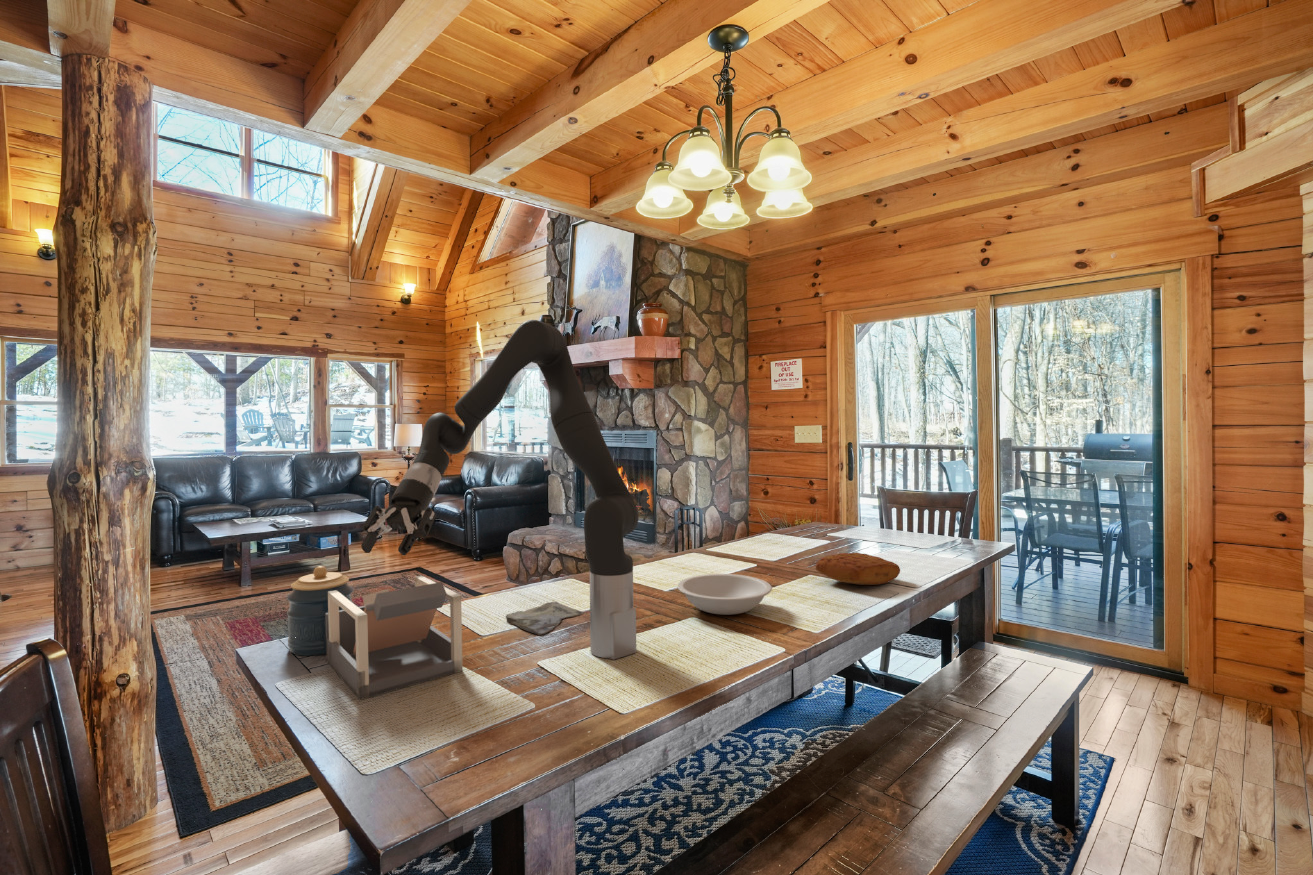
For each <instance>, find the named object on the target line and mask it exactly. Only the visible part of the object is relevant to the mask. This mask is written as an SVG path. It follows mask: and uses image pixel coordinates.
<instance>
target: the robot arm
mask: <svg viewBox="0 0 1313 875" xmlns="http://www.w3.org/2000/svg"><path fill="white" fill-rule="evenodd" d="M531 363H534V364H536V365H537V366H538V368H539V370H540V371H541V374H542V375H543V378H544V380H545V382H546V384H547V387H548V390H549V399H550V400H549V408H550V410H549V411H550V418H551V419H550V421H551V423H552V424H551V425H552V426H553V428H554V432H555V434H556V437H557V439H558V442H559V443H560V446H561V448H562V449H563V452H564V453H565V454H566V455H567V457H568V458H569V459H570V460H571V462H572V463H574V465H575V466H576V467H577V468H578V469H579V470H580V471H581V472H582V473H583V474H584V475H585V477H586V479H587V480H588V482H590V485H591V487H592V489H593V491H594V494H595V495H596V498H594V499H592V500H591V501H590V502H589V503H588V504H587V506H586V509H585V512H584V516H583V531H584V548H585V557H586V560H587V563H588V564H589V625H590V626H589V634H590V635H589V637H590V639H589V641H590V653H591V655H594V656H595V657H598V658H603V659H604V658H605V659H610V660H617V659H620V658H622V657H626V656H630V655H632V654H636V653H637V609H636V607H634V559H633V557H632V555H630V554H628V553H626V552H625V545H624V536H627V535H629V534H631V533H633V532H634V531H635V530H636V528H637V526H638V524H639V515H640V514H639V509H638V506H637V504H636V501H635V499H634V497H633V496H632V494H631V492H630V489H628V487H627V485H626V483H625V481H624V480H623V478H622V476H621V474H620V472H619V470H618V468H617V466H616V464H615V461H614V459H613V456H612V454H611V452H610V450H609V448H608V445H607V443H606V441H605V439H604V436H603V434H602V431H601V428H600V426H599V423H598V420H597V419H596V417H595V414H594V412H593V411H594V410H592V407H591V405H590V404H589V400H588V399H587V396H586V394H585V392H584V389H583V387H582V385H581V383H580V381H579V378H578V376H577V373H576V370H575V367H574V365H573V362H572V358H571V354H570V352H569V348H568V346H567V342H566V339H565V337H564V335H563V334H562V332H561V331H560V330H559V329H558V328H557V327H556V326H554V325H551V324H549V323H547V322H544V321H541V320H538V319H529V320H525V321H524V322H523V323H521V324H520V325H519V326H518V327H517V328H516V329H515V331H514V332H513V333H512V335H511V336H510V337H509V339H508V341H507V342H506V343H505V345H504V346H503V348H502V349H501V350H500V351H499V353H498V354H497V356H496V357H495V359H494V360H493V361H492V362H491V364H490V365H489V367H488V369H487V370H485V372H484V373H483V375H482V376H481V377H480V378H479V379H478V380H477V381H476V382H475V383H474V384H473V385H472V386H471V387H470V388H469V389H467V391H466V392H465V393H464V394H463V395H462V397H460V398H459V399H458V400H457V401H456V403H455V405H454V412H455V414H456V416H458V418H459V419H460V420H461V422H462V424H463V425H462V424H460V422H458V421H456V420H455V419H454V418H452V417H451V416H449V415H448V414H447V413H444V412H436V413H434V414H432V415H430V417H428V419H427V420H426V422H425V424H424V426H423V430H422V437H421V441H420V444H419V449H418V450H419V451H418V452H417V455H416V456H415V458H414V460H413V461H412V463H411V465H410V466H409V468H408V469H407V470H406V472H405V473H404V475H403V477H402V478H401V479H400V480H401V481H400V482H399V484H398V486H397V487H396V490H395V491H394V493H393V494H392V496H391V502H390V505H389V506H388V507H387V508H381V506H380V505H375V506H374V508H373V509H372V510H371V512H370V513H369V515H368V516H367V518H366V519H365V521H364V523H363V524H362V526H361V529H362V530H363V531H364V533H365V534H366V536H365V537H364V539H363V541H362V543H361V546H360V547H361V549H362V551H363V552H364V553H365V554H370V553H371V552H372V550H373V548H374V546H375V544H376V543H377V541H378V538H379V537H380V536H382V535H383V534H385V533H386V534H387V533H389V532H391V531H392V530H402V531H404V530H405V531H407V534H406V533H405V535H404V537H403V539H401V540H402V541H401V543H400V545H399V546H398V550H397V551H398V552H399V554H400V555H401V556H407V554H408V553H410V551H411V550H412V548H413V545H414V544H415V542H416V541H417V540H419V539H420V538H422V539H426V538H427V537H428V536H429V533H430V530H431V528H432V526H433V523H434V521H435V519H436V517H437V515H436V513H435V512H434V511H433V509H432V508H431V507H429V506H430V504H431V502H432V501H433V498H434V496H435V494H436V493H437V490H438V488H439V486H440V484H441V480H442V478H443V477H444V474H445V472H446V471H447V468H448V466H449V465H450V457H449V455H448V454H450V455H457V454H460V453H462V452H463V451H464V450H465V449H466V448H467V446H468V445H469V442H470V441H471V438H472V436H473V434H474V433H475V431H476V429H477V428H478V427H479V425H480V424H481V423H482V422H483V421H484V420H485V419H486V418H487V417H488V416H489V415H490V414H491V412H493V411H494V410H495V409H496V408H497V407H498V405H499V404H500V403H501V401H502V400H503V398H504V396H505V393H506V392H507V389H508V388H509V386H510V384H511V382H512V380H513V379H514V377H516V376H517V374H518V373H519V372H521V370H523V369H524V368H526V366H528V365H529V364H531ZM385 522H386V524H387V525H385ZM418 522H419V523H418ZM417 523H418V526H417Z"/></svg>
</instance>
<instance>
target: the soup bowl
mask: <svg viewBox="0 0 1313 875" xmlns="http://www.w3.org/2000/svg"><path fill="white" fill-rule="evenodd" d="M677 589H678V591H679V592H681V593H682V594H684V596H685V597H686V598H687V600H688V602H689V603H690V604H692V605H693V606H694V607H696V608H697V609H699V610H701V611H703V612H705V613H710V614H714V615H724V616H725V615H728V616H729V615H731V616H732V615H738V614H739V615H740V614H743V613H746V612H749V611H751V610H753V609H754V608H755V607H757V606H758V605H759V604H761V602H762V601H763V600H764V598H765V596H768V595H769V594H770V593H771V592H772V590H773V588H772V585H771V584H770V583H769V582H768V581H766V580H763V579H761V578H757V577H754V576H748V575H744V574H743V575H742V574H736V573H735V574H733V573H711V574H710V573H709V574H700V575H695V576H690V577H687V578H684V579H682V580H680V581H679V582H678V583H677Z"/></svg>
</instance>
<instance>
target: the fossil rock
mask: <svg viewBox="0 0 1313 875" xmlns="http://www.w3.org/2000/svg"><path fill="white" fill-rule="evenodd" d="M581 615H584V612H583V611H581V610H579V609H576V608H572V607H569V606H567V605H564V604H562V603H559V602H558V601H551V602H550V601H549V602H546V603H543V604H541V605H539V606H535V607H532V608H529V609H525V610H524V611H523V610H521V611H520V610H519V611H518V610H517V611H515V612H511V613H508V614H506V615H505V619H506V622H508V623H510V624H511V625H513V626H517V627H518V628H520V629H521V630H524V631H526V632H528V633H532V634H535V635H537V636H543V635H546V634H548V633H550V632H552V631H553V630H554V629H555V628H556V627H558V626H559V625H560V623H561V622H562V620H565V619H567V618H574V617H575V618H576V617H578V616H581Z"/></svg>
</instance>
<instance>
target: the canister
mask: <svg viewBox="0 0 1313 875" xmlns="http://www.w3.org/2000/svg"><path fill="white" fill-rule="evenodd" d="M349 581H350V578H349V577H348V576H346V575H343V574H342V573H341V572H337V571H336V572H335V571H328V569H327V568H326V567H325V566H324V565H318V566H316V567H315V568H314V570H313V573H310V574H306V575H303V576H302V575H301V576H299V578H298V579H297V580H295V581H294V582H292V583H291V585H290V588H291V589H292V591H291V592H289V593H287V596H286V600H287V601H288V602H289V608H288V610H287V612H286V615H287V624H288V625H287V626H288V627H287V628H288V629H287V630H288V638H287V647H288V648H289V649H288V651H289V652H290V653H291V654H293V655H297V656H304V657H305V656H318V655H326V620H325V613H328V592H329V591H334V590H337V591H338V592H339V593H341V594H342V595H343V596H345V597H346V598H347V599H348V600H350V601H351V602H352V603H353V604H355V602H354V601H352V593H353V592H354V587H353V586H351V585H350V584H348V582H349ZM340 610H343V609H342V608H341V607H340V606H339V611H340ZM295 637H296V638H295Z"/></svg>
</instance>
